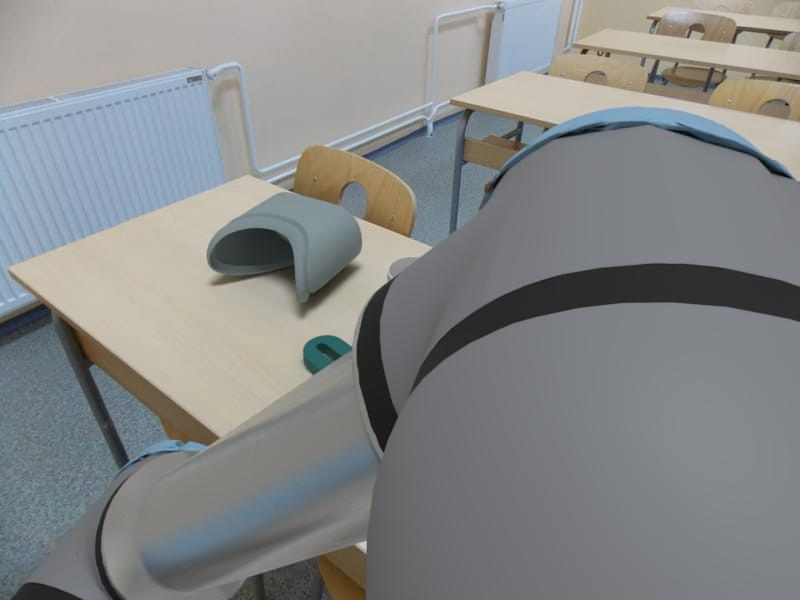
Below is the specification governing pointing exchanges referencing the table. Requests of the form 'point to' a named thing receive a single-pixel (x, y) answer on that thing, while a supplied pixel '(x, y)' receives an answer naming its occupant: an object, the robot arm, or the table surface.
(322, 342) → the bracket
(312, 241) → the grey-blue hollow shell part
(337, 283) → the table surface
